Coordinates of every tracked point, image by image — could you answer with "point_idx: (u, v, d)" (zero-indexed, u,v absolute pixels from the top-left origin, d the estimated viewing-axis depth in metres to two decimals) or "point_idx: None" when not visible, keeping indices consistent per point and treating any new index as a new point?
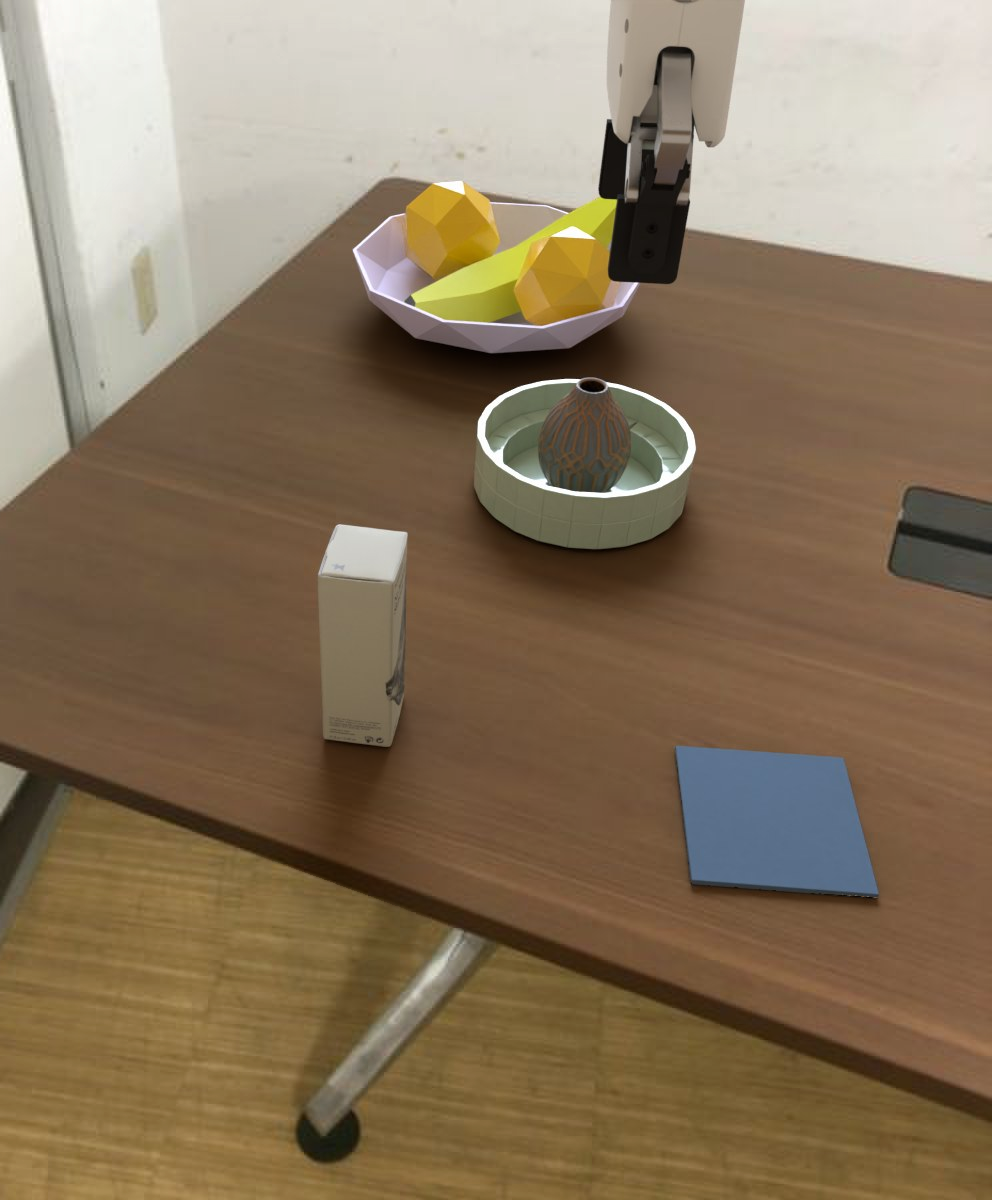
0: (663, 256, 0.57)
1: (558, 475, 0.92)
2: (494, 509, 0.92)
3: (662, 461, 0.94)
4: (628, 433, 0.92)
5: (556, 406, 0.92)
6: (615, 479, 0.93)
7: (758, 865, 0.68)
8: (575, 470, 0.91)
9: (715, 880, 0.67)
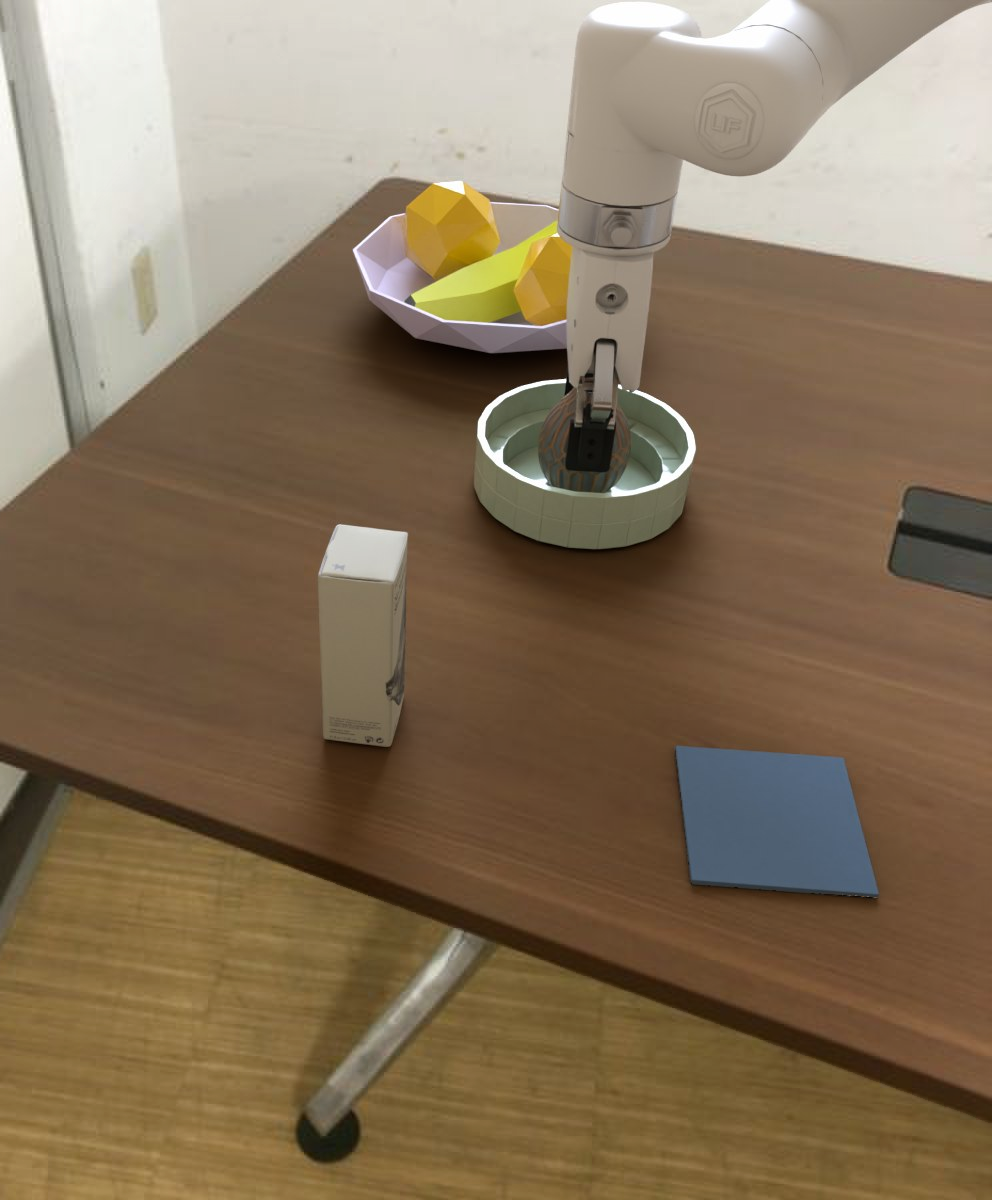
0: (599, 457, 0.89)
1: (558, 475, 0.92)
2: (494, 509, 0.92)
3: (662, 461, 0.94)
4: (628, 433, 0.92)
5: (556, 406, 0.92)
6: (615, 479, 0.93)
7: (758, 865, 0.68)
8: None
9: (715, 880, 0.67)
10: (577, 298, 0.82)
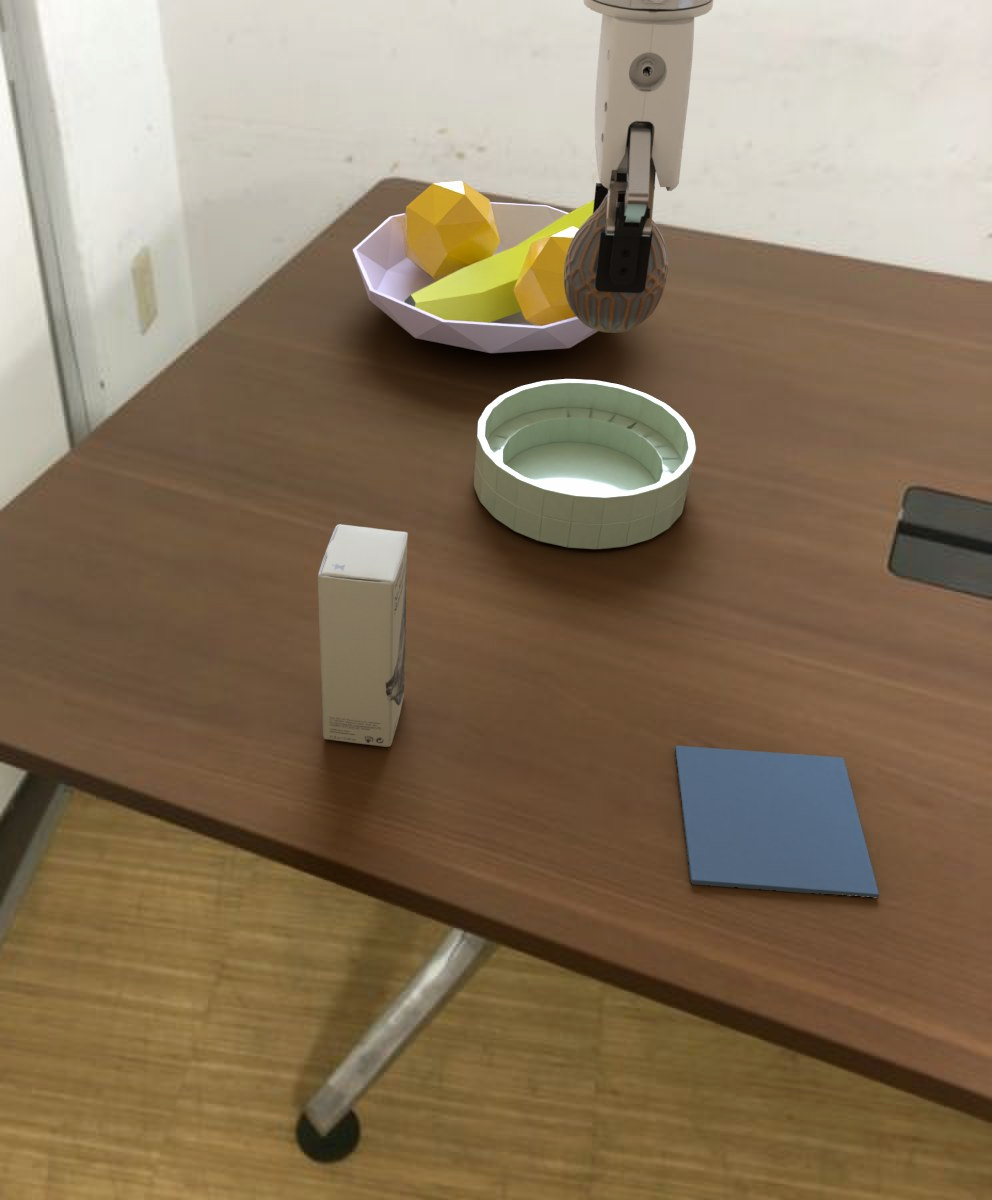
0: (634, 273, 0.79)
1: (587, 303, 0.83)
2: (494, 509, 0.92)
3: (662, 461, 0.94)
4: (665, 252, 0.82)
5: (583, 225, 0.83)
6: (650, 305, 0.83)
7: (758, 865, 0.68)
8: (606, 294, 0.82)
9: (715, 880, 0.67)
10: (608, 75, 0.72)
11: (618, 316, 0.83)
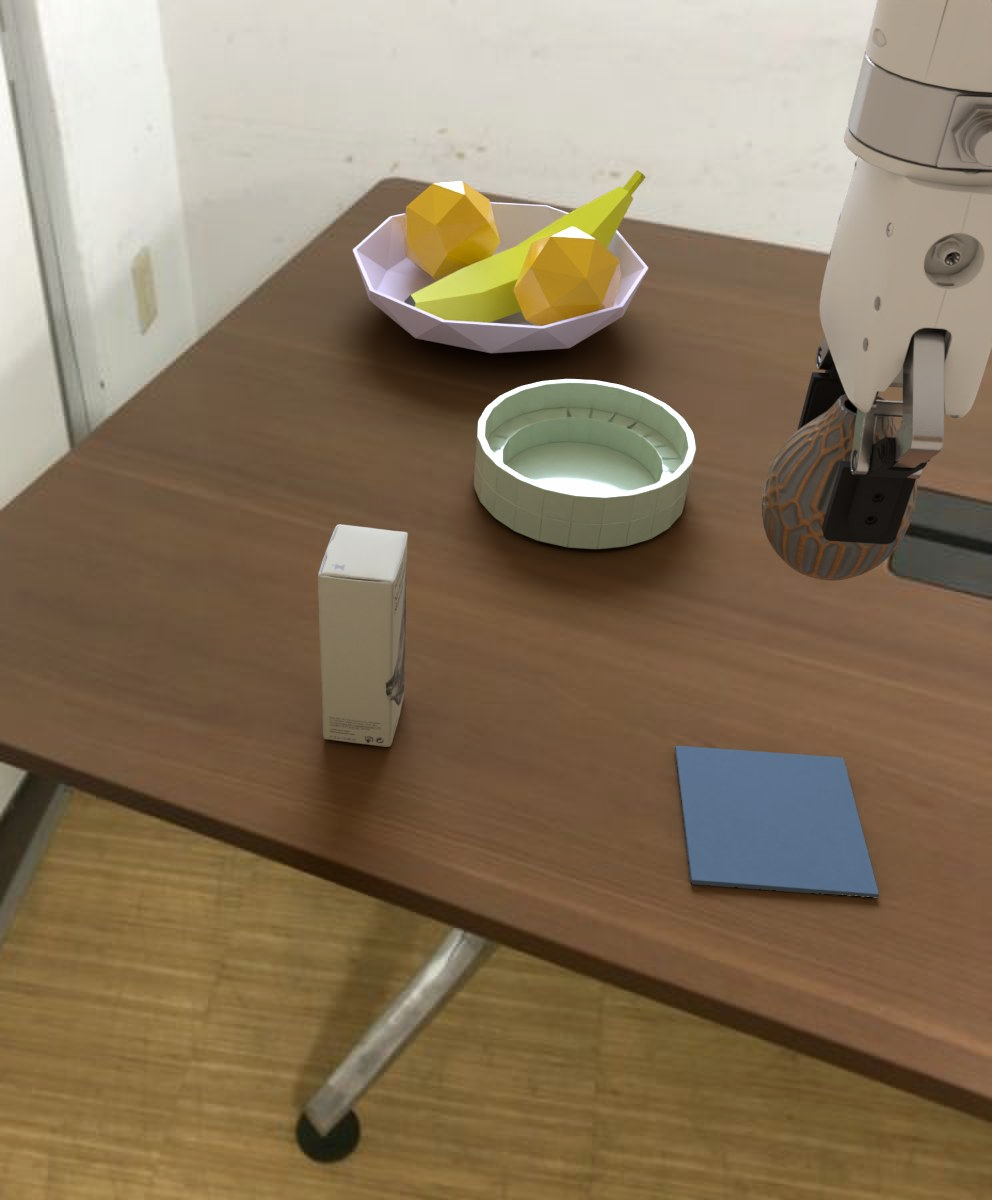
0: (887, 523, 0.55)
1: (801, 546, 0.59)
2: (494, 509, 0.92)
3: (662, 461, 0.94)
4: (916, 480, 0.58)
5: (799, 437, 0.58)
6: (891, 551, 0.59)
7: (758, 865, 0.68)
8: None
9: (715, 880, 0.67)
10: (888, 259, 0.48)
11: (846, 566, 0.58)
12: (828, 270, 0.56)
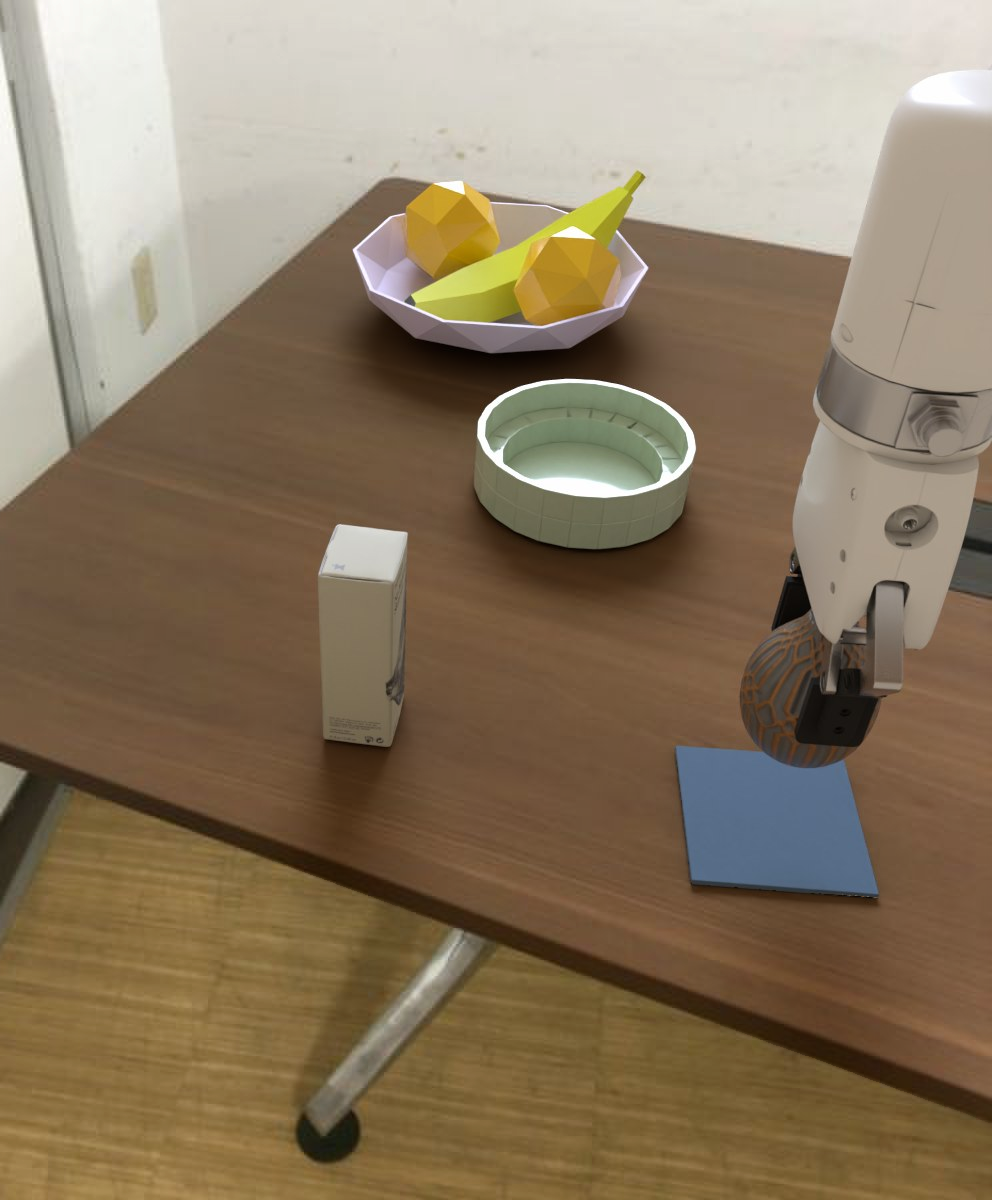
0: (853, 732, 0.60)
1: (776, 741, 0.63)
2: (494, 509, 0.92)
3: (662, 461, 0.94)
4: None
5: (774, 642, 0.63)
6: (858, 746, 0.64)
7: (758, 865, 0.68)
8: None
9: (715, 880, 0.67)
10: (852, 520, 0.53)
11: (817, 761, 0.63)
12: (800, 495, 0.61)
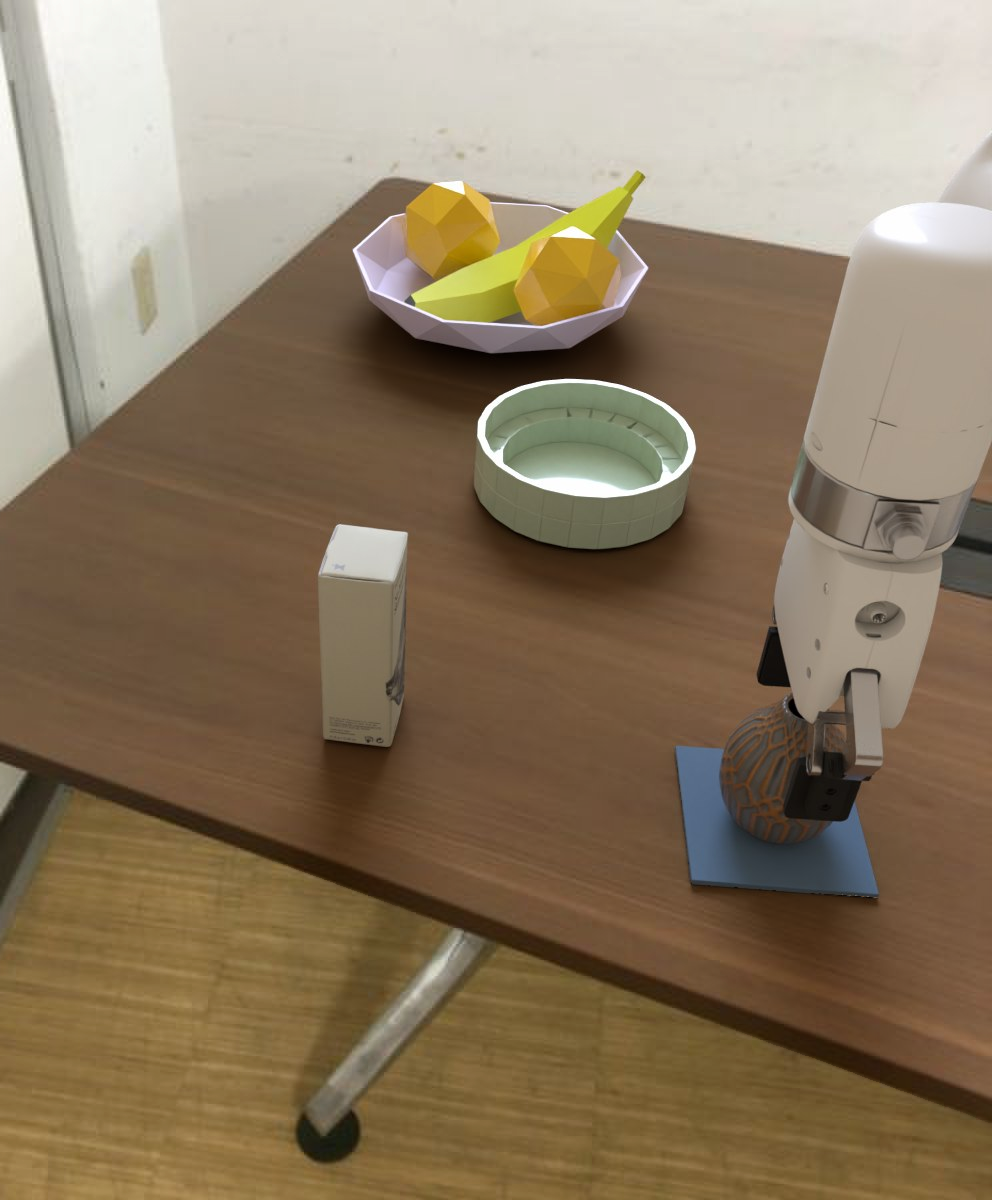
0: (839, 810, 0.62)
1: (752, 820, 0.67)
2: (494, 509, 0.92)
3: (662, 461, 0.94)
4: None
5: (750, 727, 0.67)
6: (830, 824, 0.68)
7: (758, 865, 0.68)
8: (780, 819, 0.66)
9: (715, 880, 0.67)
10: (825, 613, 0.56)
11: (791, 838, 0.67)
12: (780, 576, 0.65)
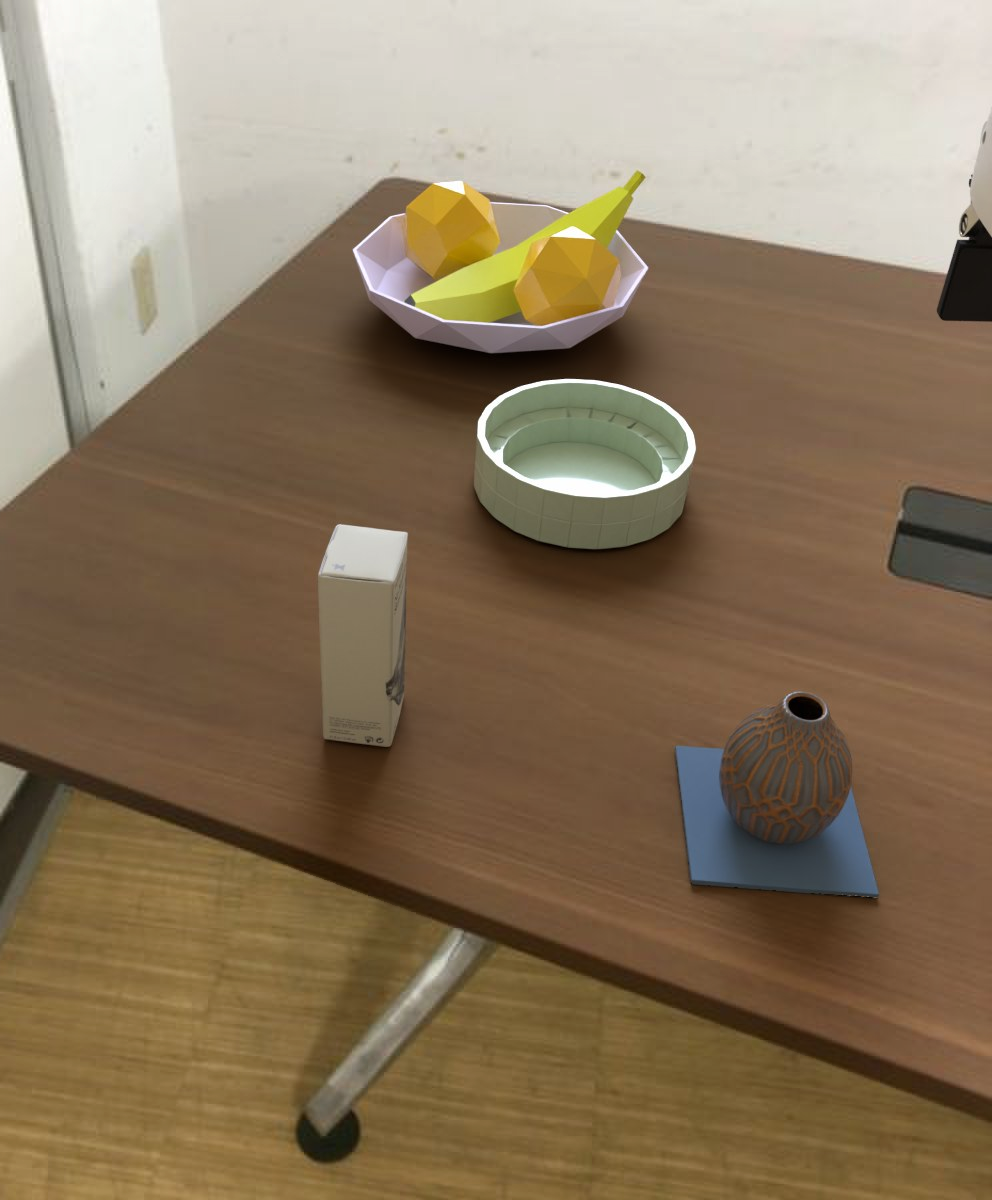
0: None
1: (752, 820, 0.67)
2: (494, 509, 0.92)
3: (662, 461, 0.94)
4: (851, 766, 0.67)
5: (750, 727, 0.67)
6: (830, 824, 0.68)
7: (758, 865, 0.68)
8: (780, 818, 0.66)
9: (715, 880, 0.67)
10: None
11: (791, 838, 0.67)
12: (983, 152, 0.55)
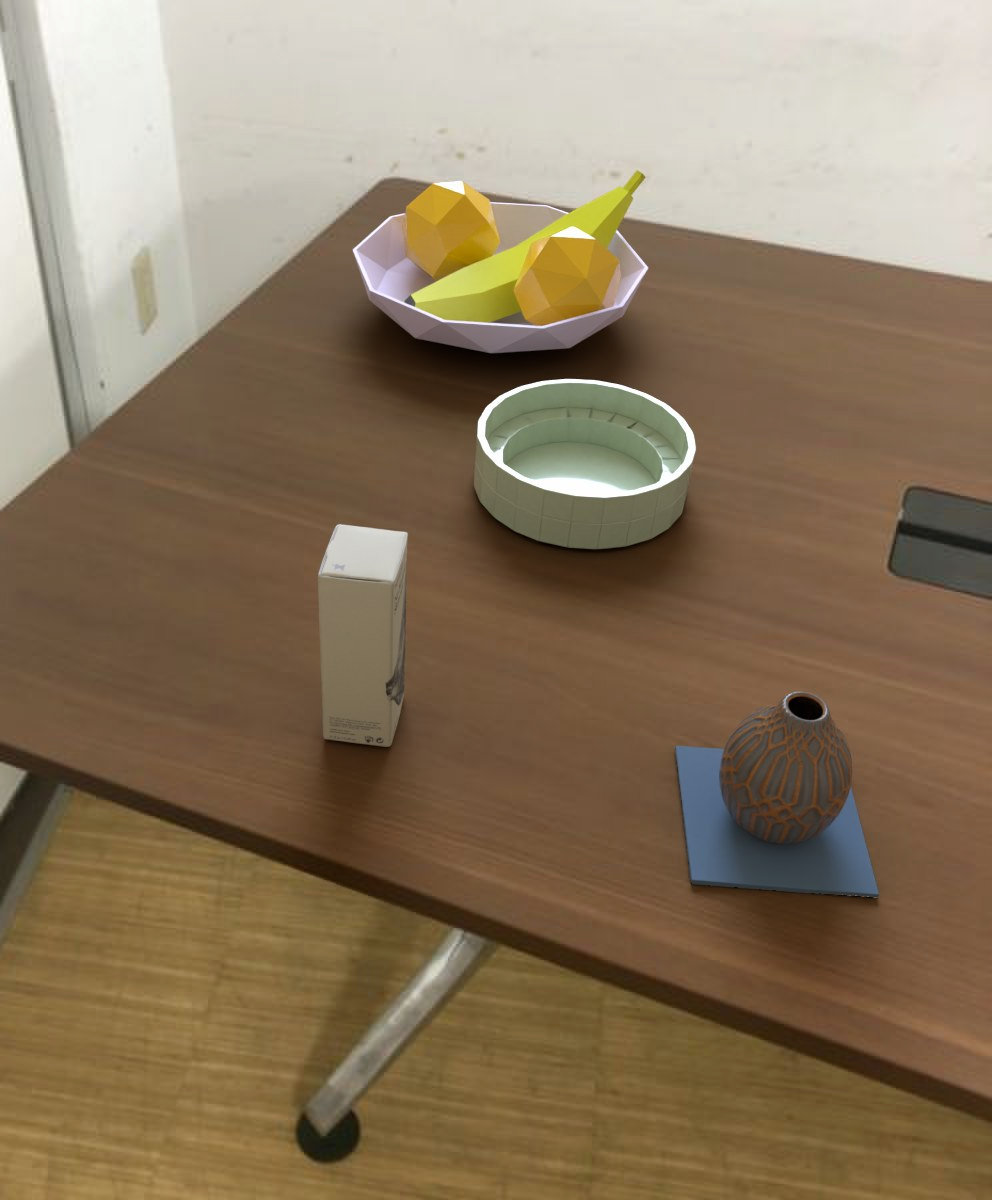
0: None
1: (752, 820, 0.67)
2: (494, 509, 0.92)
3: (662, 461, 0.94)
4: (851, 766, 0.67)
5: (750, 727, 0.67)
6: (830, 824, 0.68)
7: (758, 865, 0.68)
8: (780, 818, 0.66)
9: (715, 880, 0.67)
10: None
11: (791, 838, 0.67)
12: None
